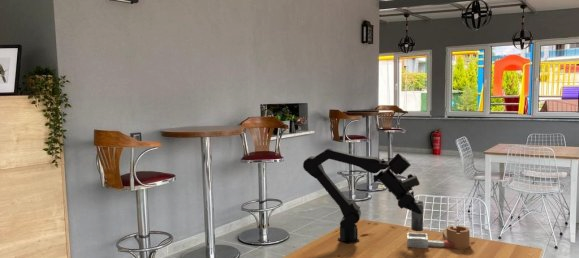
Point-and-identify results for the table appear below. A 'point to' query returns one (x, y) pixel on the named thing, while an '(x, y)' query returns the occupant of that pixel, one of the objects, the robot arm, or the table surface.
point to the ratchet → (426, 241)
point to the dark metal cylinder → (417, 218)
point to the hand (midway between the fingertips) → (420, 211)
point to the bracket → (457, 236)
